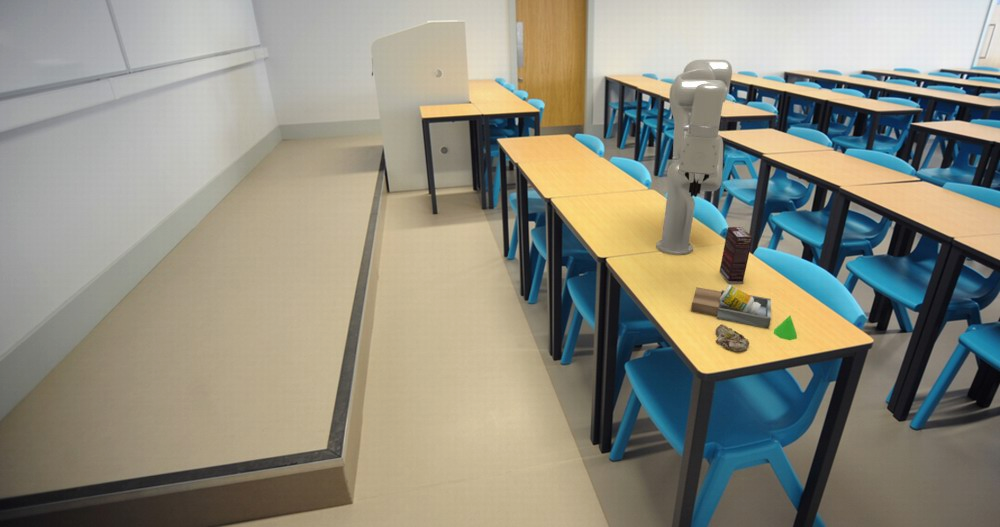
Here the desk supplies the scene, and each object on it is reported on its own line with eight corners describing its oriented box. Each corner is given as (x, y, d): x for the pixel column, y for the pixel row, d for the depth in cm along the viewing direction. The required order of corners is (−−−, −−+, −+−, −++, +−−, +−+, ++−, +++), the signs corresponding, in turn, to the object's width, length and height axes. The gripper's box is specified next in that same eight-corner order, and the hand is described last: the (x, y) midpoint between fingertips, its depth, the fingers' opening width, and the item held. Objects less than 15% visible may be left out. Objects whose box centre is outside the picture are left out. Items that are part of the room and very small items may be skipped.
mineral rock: (760, 344, 130) (732, 339, 128) (752, 358, 131) (725, 354, 130) (736, 322, 140) (710, 318, 138) (730, 336, 141) (704, 332, 139)
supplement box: (743, 284, 163) (753, 237, 156) (727, 284, 163) (737, 237, 156) (733, 271, 171) (742, 226, 164) (718, 271, 171) (726, 226, 164)
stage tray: (695, 294, 157) (696, 285, 156) (768, 307, 150) (770, 298, 148) (690, 313, 148) (691, 304, 146) (768, 328, 140) (770, 319, 139)
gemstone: (779, 326, 141) (783, 306, 139) (802, 335, 137) (807, 315, 135) (768, 334, 138) (773, 314, 135) (791, 343, 134) (797, 323, 131)
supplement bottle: (723, 292, 150) (755, 310, 147) (716, 303, 147) (749, 322, 144) (731, 280, 146) (764, 299, 143) (725, 291, 143) (758, 310, 140)
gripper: (673, 131, 143) (665, 196, 151) (732, 135, 137) (720, 202, 145) (677, 126, 149) (669, 188, 157) (733, 130, 143) (722, 194, 151)
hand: (693, 195), depth 151 cm, fingers closed
